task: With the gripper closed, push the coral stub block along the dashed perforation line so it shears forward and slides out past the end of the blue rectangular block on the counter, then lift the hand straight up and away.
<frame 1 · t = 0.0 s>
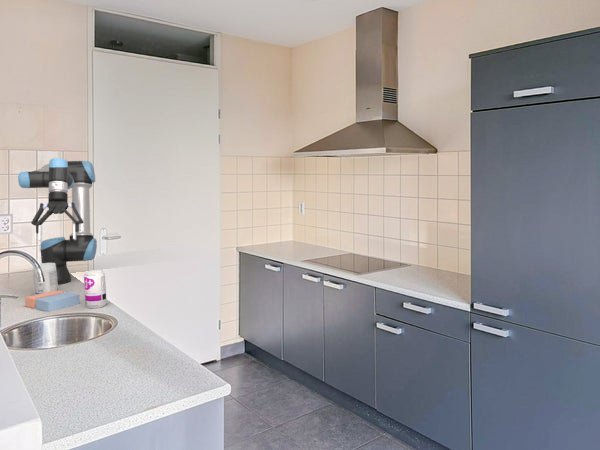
hand: (57, 240, 207), 28 cm above the worktop, tool tilted 20°, fingers open, 13 cm apart
blue rectangular block: (58, 306, 205), on the worktop
stub: (45, 298, 210), point 2 cm above the worktop, slide at 0.0 cm
supplement can: (96, 306, 205), on the worktop
supplement tub: (47, 295, 225), on the worktop
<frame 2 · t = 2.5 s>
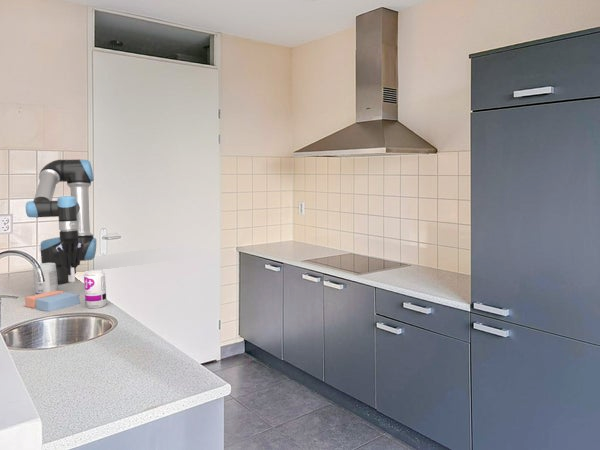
hand: (71, 281, 220), 7 cm above the worktop, tool pointing down, fingers closed
nothing on the worktop moved.
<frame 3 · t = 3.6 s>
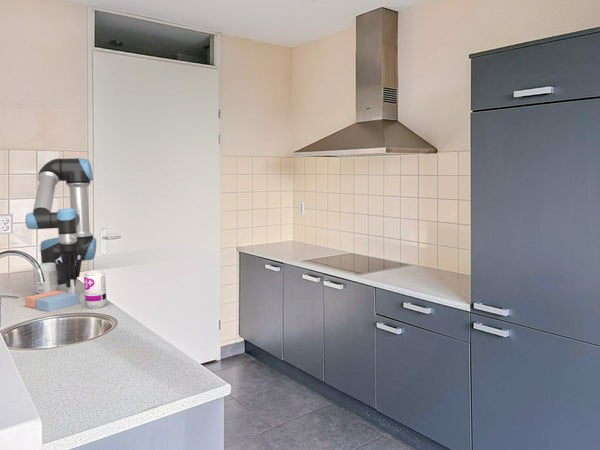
hand: (71, 293, 221), 2 cm above the worktop, tool pointing down, fingers closed
nothing on the worktop moved.
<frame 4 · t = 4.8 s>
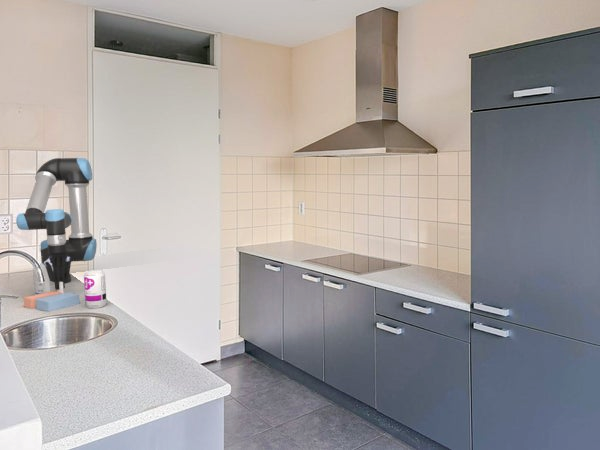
hand: (60, 296, 216), 2 cm above the worktop, tool pointing down, fingers closed
stub: (43, 299, 210), point 2 cm above the worktop, slide at 0.7 cm, touching gripper
everything else where it was.
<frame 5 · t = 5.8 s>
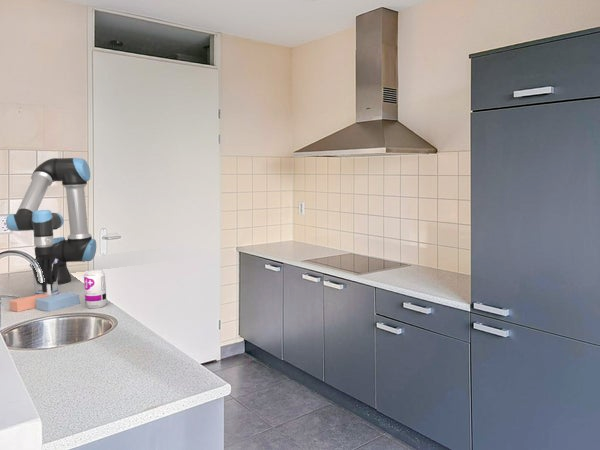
hand: (48, 299, 211), 2 cm above the worktop, tool pointing down, fingers closed
stub: (30, 302, 205), point 2 cm above the worktop, slide at 6.5 cm, touching gripper
everything else where it was.
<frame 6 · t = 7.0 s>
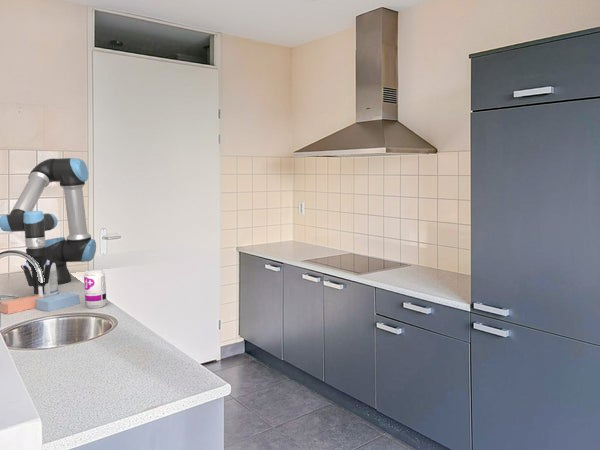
hand: (39, 301, 208), 2 cm above the worktop, tool pointing down, fingers closed
stub: (21, 304, 202), point 2 cm above the worktop, slide at 10.2 cm, touching gripper
everything else where it was.
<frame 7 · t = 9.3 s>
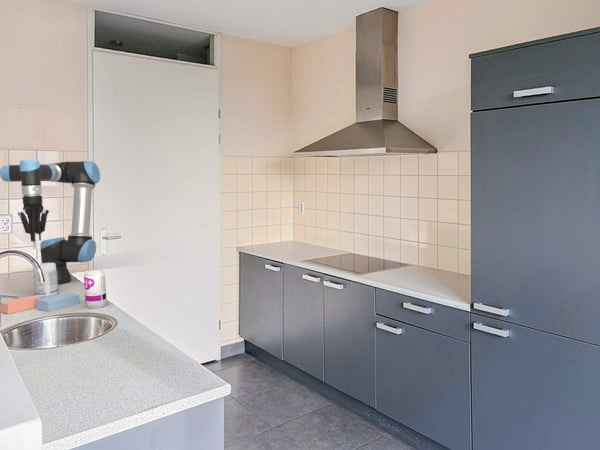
hand: (36, 248, 214), 24 cm above the worktop, tool pointing down, fingers closed
stub: (21, 304, 202), point 2 cm above the worktop, slide at 10.2 cm
everything else where it was.
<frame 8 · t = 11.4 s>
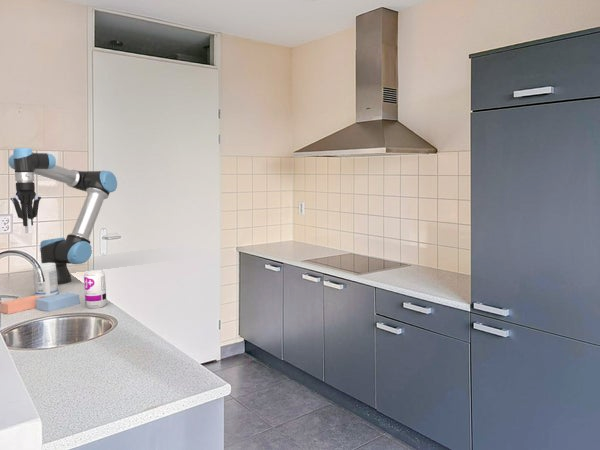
hand: (28, 233, 223), 29 cm above the worktop, tool pointing down, fingers closed
nothing on the worktop moved.
at the end: stub slide at 10.2 cm; the gripper is holding nothing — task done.
